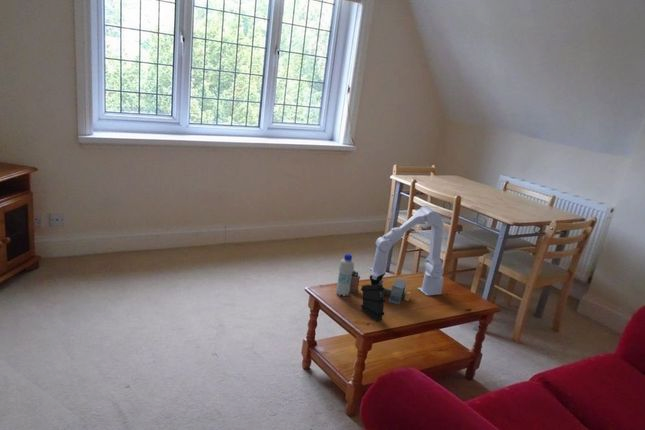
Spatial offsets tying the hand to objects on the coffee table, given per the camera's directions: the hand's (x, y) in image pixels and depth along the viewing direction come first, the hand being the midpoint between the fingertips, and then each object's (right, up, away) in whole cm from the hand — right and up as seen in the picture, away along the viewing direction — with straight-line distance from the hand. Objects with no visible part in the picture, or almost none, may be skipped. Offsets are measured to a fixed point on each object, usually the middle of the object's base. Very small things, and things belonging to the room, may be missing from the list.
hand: (375, 287), depth 233 cm
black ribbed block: (-5, -8, -23) cm, 24 cm away
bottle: (-16, -2, -8) cm, 18 cm away
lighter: (-13, -1, -2) cm, 13 cm away
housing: (+10, -4, -3) cm, 11 cm away
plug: (+7, -3, -2) cm, 8 cm away
